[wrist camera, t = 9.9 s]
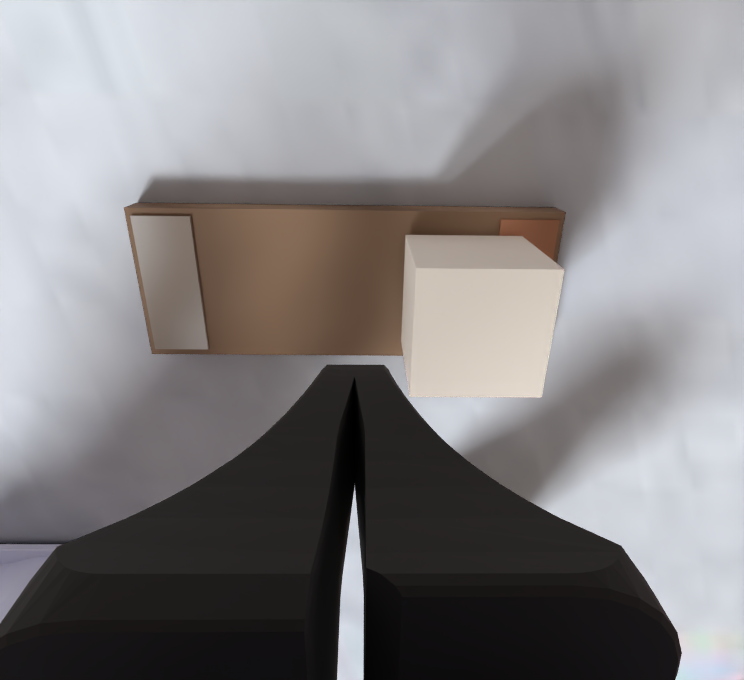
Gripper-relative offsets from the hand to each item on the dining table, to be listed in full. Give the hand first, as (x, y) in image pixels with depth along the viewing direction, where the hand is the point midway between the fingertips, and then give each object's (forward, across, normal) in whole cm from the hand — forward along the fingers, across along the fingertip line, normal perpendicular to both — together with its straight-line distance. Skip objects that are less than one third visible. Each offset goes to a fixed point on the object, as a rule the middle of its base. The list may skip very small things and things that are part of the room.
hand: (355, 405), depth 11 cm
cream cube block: (+8, -4, 0) cm, 8 cm away
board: (+9, 0, 0) cm, 9 cm away
